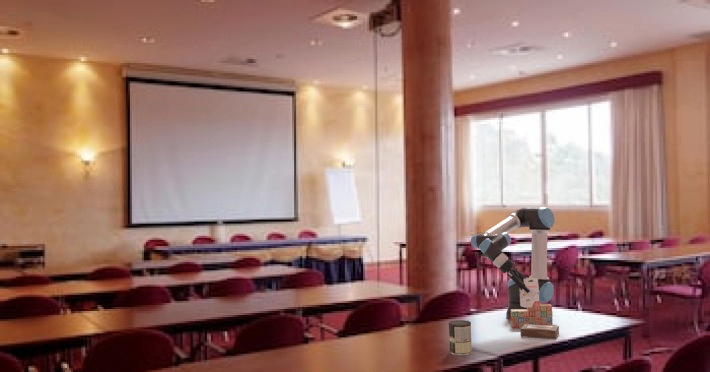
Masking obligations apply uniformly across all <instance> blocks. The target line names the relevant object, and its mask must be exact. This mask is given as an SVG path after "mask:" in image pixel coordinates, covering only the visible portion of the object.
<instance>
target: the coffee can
mask: <svg viewBox="0 0 710 372" xmlns="http://www.w3.org/2000/svg"><path fill="white" fill-rule="evenodd" d="M448 334H449V337H448V338H449V354H450V355H453V356H469V355H472V353H473V350H472V349H473V348H472V347H473V345H472V323H471V321H469V320H464V319H463V320H461V319H459V320H456V319H455V320H450V321H448Z"/></svg>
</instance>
